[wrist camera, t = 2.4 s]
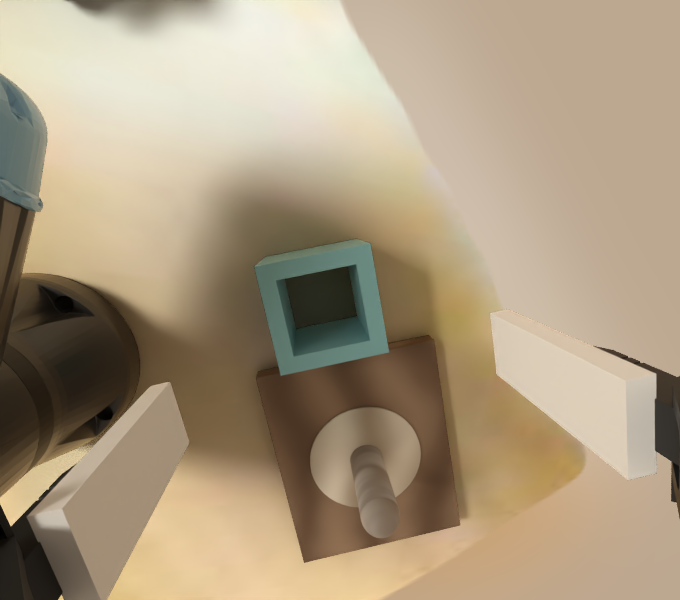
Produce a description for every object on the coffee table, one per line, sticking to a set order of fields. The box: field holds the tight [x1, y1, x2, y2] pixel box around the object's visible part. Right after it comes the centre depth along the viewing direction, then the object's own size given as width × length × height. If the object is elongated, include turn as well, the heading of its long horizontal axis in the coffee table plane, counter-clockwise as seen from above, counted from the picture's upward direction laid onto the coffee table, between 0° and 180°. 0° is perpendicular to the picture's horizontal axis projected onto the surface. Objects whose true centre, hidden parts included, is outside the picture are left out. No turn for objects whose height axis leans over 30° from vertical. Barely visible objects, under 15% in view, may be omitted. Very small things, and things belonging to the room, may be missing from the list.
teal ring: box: [254, 239, 389, 376], centre depth 29 cm, size 8×8×7 cm
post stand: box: [256, 335, 460, 563], centre depth 31 cm, size 16×20×10 cm
